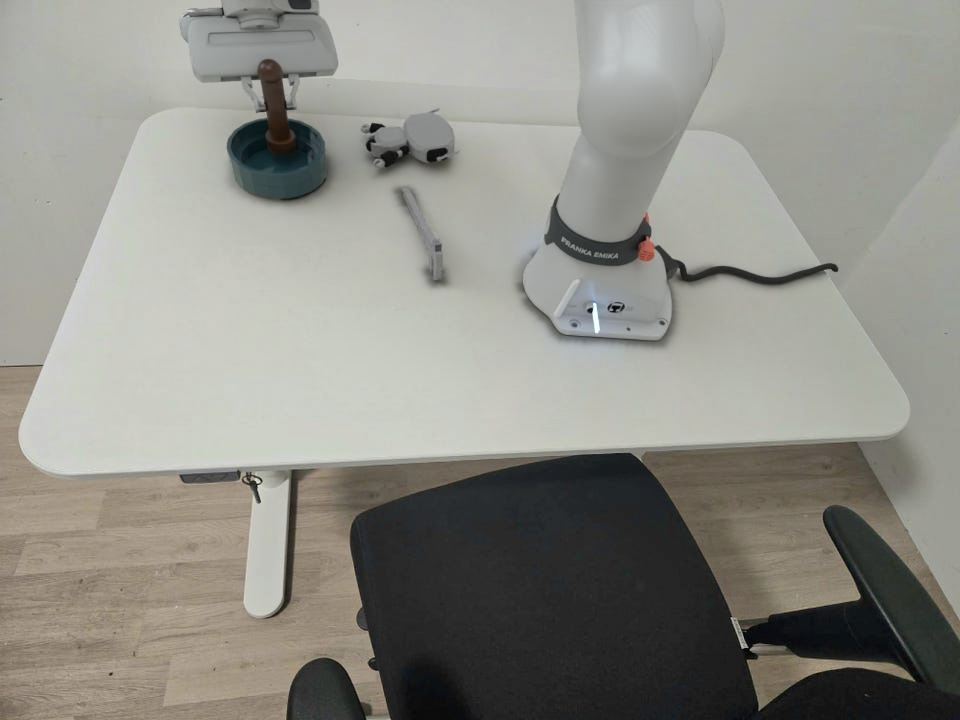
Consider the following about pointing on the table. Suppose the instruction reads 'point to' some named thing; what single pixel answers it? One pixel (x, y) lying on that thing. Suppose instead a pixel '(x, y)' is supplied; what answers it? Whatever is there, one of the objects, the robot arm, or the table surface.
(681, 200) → the table surface
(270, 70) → the pestle
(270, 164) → the bowl
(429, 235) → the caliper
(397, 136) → the robot toy
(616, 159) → the robot arm
